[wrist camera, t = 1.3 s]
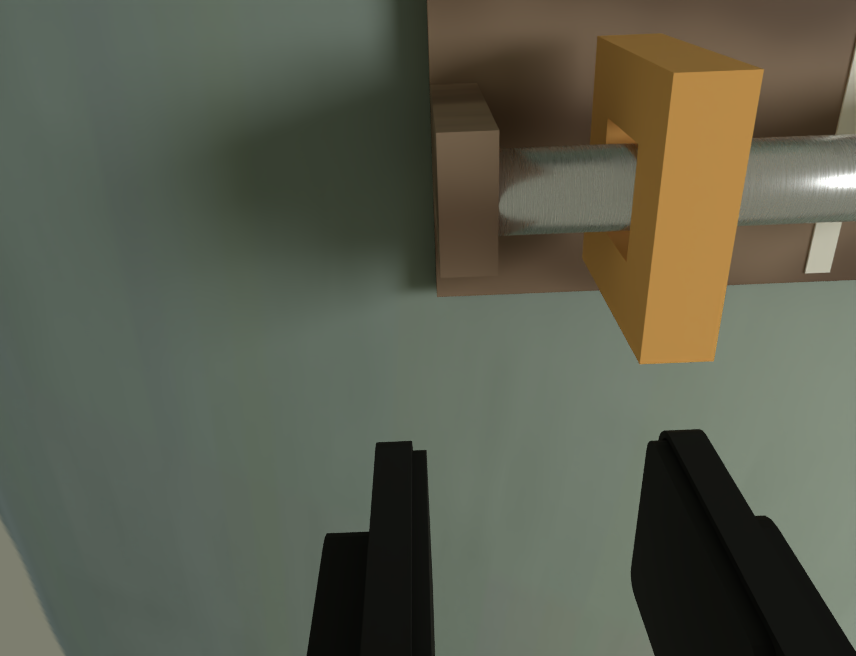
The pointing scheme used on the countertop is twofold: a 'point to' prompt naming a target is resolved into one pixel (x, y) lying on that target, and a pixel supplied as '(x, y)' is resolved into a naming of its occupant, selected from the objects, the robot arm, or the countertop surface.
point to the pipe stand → (616, 163)
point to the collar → (672, 188)
